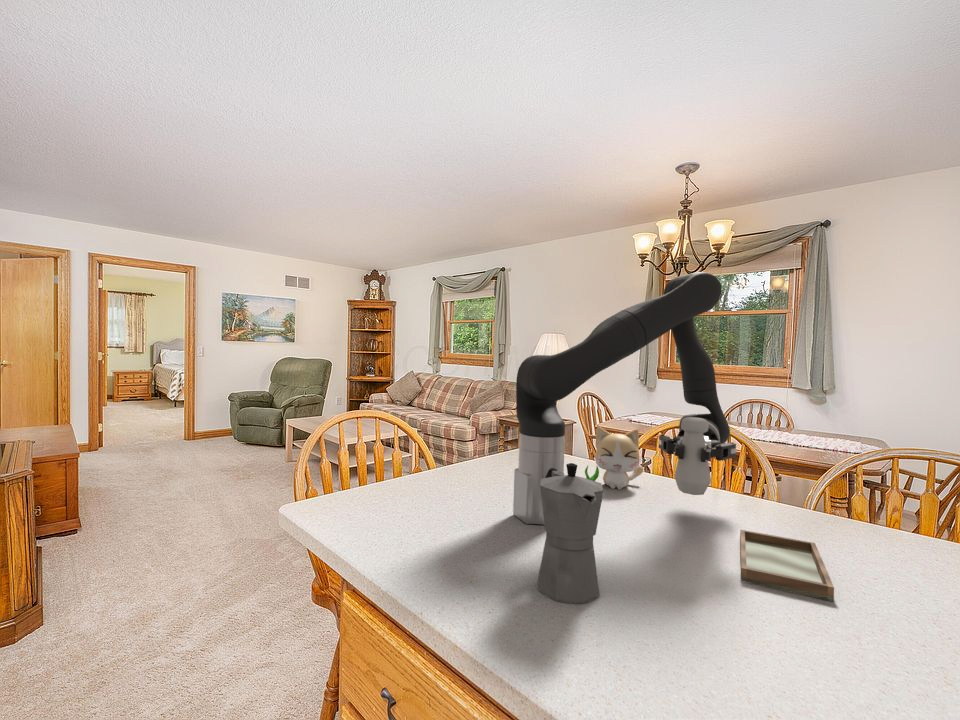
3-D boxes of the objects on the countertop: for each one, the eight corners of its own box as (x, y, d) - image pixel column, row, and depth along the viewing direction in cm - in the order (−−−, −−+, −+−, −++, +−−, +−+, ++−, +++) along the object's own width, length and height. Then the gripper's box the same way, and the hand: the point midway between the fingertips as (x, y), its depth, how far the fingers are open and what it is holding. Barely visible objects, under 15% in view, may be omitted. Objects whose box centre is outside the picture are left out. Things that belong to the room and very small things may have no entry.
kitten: (583, 488, 119) (585, 429, 118) (584, 478, 128) (586, 423, 128) (646, 494, 115) (648, 433, 115) (642, 483, 125) (644, 427, 125)
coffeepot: (621, 609, 63) (625, 474, 62) (554, 616, 60) (559, 476, 60) (572, 559, 78) (576, 450, 77) (517, 563, 76) (521, 451, 75)
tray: (833, 601, 66) (834, 587, 66) (740, 580, 72) (741, 567, 72) (814, 554, 82) (814, 542, 82) (739, 540, 88) (740, 529, 88)
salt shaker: (710, 490, 84) (713, 417, 84) (710, 498, 79) (714, 421, 79) (674, 485, 87) (677, 414, 86) (673, 493, 81) (676, 418, 81)
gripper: (662, 417, 99) (649, 427, 83) (739, 424, 92) (740, 437, 77) (661, 453, 99) (647, 470, 84) (737, 463, 92) (737, 483, 77)
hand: (691, 454), depth 80 cm, fingers closed on salt shaker, 3 cm apart
